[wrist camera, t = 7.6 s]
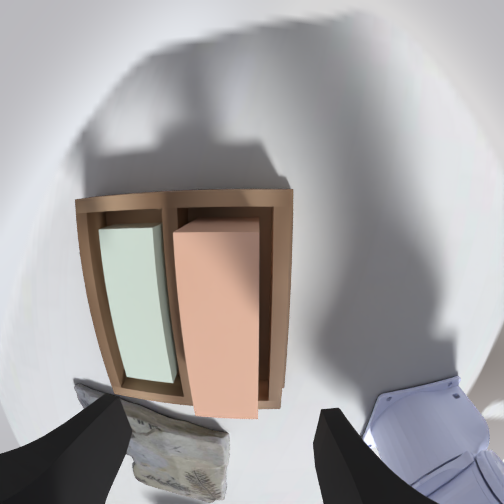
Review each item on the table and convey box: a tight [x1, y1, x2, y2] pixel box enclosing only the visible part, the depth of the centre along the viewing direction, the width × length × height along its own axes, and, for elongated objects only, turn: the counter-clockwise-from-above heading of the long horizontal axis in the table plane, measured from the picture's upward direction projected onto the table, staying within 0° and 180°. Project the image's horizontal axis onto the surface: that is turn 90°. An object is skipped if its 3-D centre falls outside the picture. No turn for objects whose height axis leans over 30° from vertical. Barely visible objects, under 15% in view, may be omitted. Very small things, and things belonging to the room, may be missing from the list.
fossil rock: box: [74, 384, 230, 503], centre depth 22 cm, size 18×15×2 cm
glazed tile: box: [99, 222, 179, 383], centre depth 16 cm, size 3×10×2 cm, turn 0°
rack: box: [75, 189, 293, 409], centre depth 16 cm, size 13×14×3 cm
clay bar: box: [173, 217, 259, 419], centre depth 14 cm, size 3×10×5 cm, turn 0°
